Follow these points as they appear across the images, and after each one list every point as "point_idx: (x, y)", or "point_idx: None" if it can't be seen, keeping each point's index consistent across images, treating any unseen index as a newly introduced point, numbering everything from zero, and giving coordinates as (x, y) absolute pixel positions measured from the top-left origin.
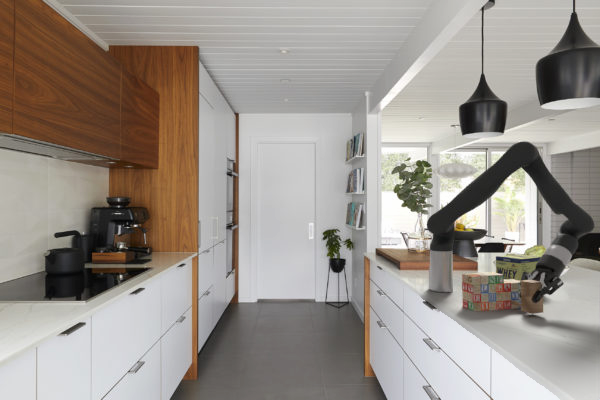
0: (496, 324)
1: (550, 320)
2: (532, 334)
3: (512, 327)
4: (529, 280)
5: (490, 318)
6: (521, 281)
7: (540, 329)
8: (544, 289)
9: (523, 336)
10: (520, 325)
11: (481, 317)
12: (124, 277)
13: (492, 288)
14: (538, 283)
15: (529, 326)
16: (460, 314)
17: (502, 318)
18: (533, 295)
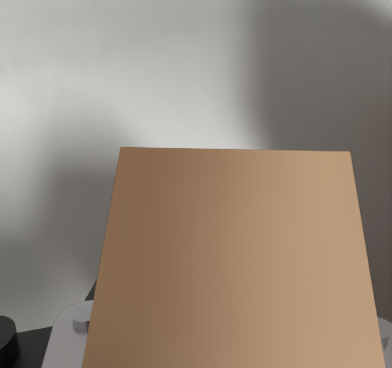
0: (174, 31)
1: None
2: (17, 53)
3: (114, 54)
4: (322, 339)
5: (259, 68)
6: (329, 159)
7: (29, 129)
8: (11, 323)
9: (26, 14)
10: (115, 101)
11: (287, 47)
12: None
13: None
14: (98, 336)
15: (83, 123)
16: (359, 6)
17: (238, 115)
18: None
